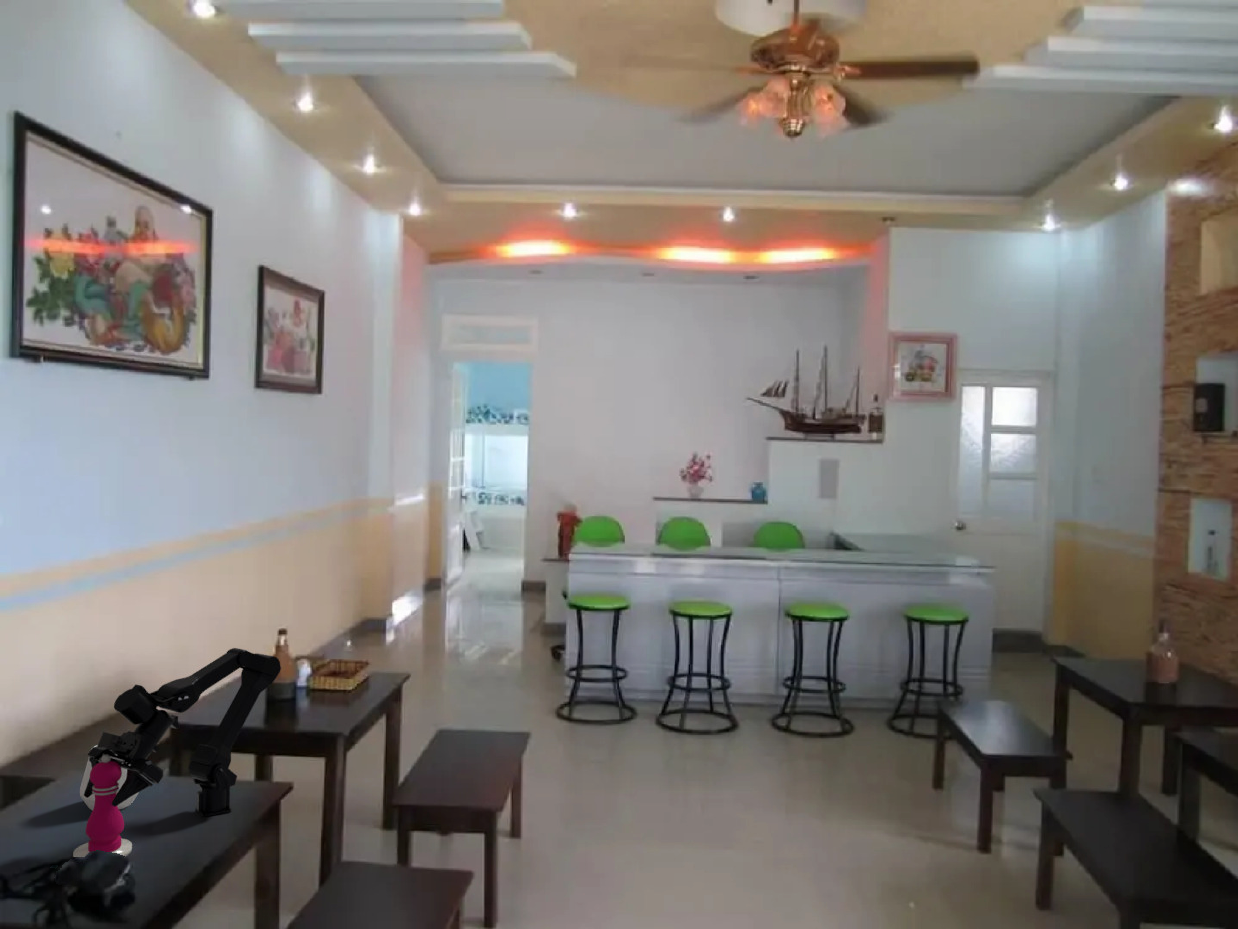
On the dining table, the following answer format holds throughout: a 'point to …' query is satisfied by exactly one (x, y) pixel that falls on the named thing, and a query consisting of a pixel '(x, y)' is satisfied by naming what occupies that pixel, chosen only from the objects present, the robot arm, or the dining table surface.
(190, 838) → the dining table surface
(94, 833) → the pepper mill
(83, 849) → the saucer
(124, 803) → the cup
